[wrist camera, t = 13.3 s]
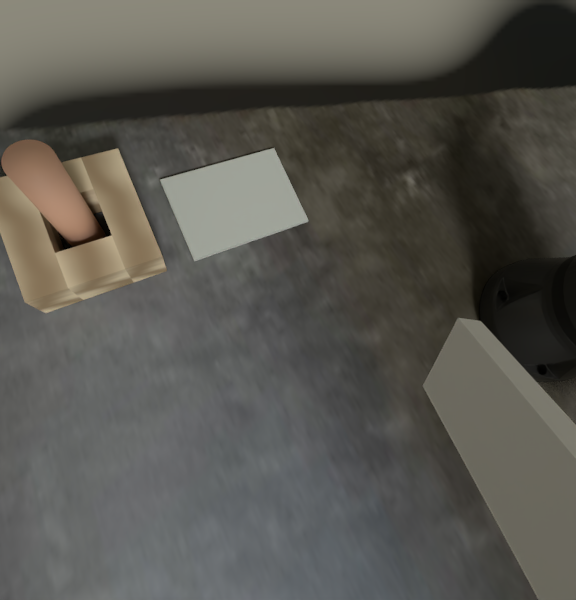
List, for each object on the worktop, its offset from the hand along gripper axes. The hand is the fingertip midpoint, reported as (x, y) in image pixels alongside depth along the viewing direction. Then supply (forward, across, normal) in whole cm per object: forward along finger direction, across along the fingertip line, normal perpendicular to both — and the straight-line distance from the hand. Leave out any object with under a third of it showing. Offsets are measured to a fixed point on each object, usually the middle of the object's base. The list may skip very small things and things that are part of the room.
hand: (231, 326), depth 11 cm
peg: (+30, -14, -12) cm, 35 cm away
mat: (+35, 0, -7) cm, 36 cm away
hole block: (+30, -14, -12) cm, 35 cm away
